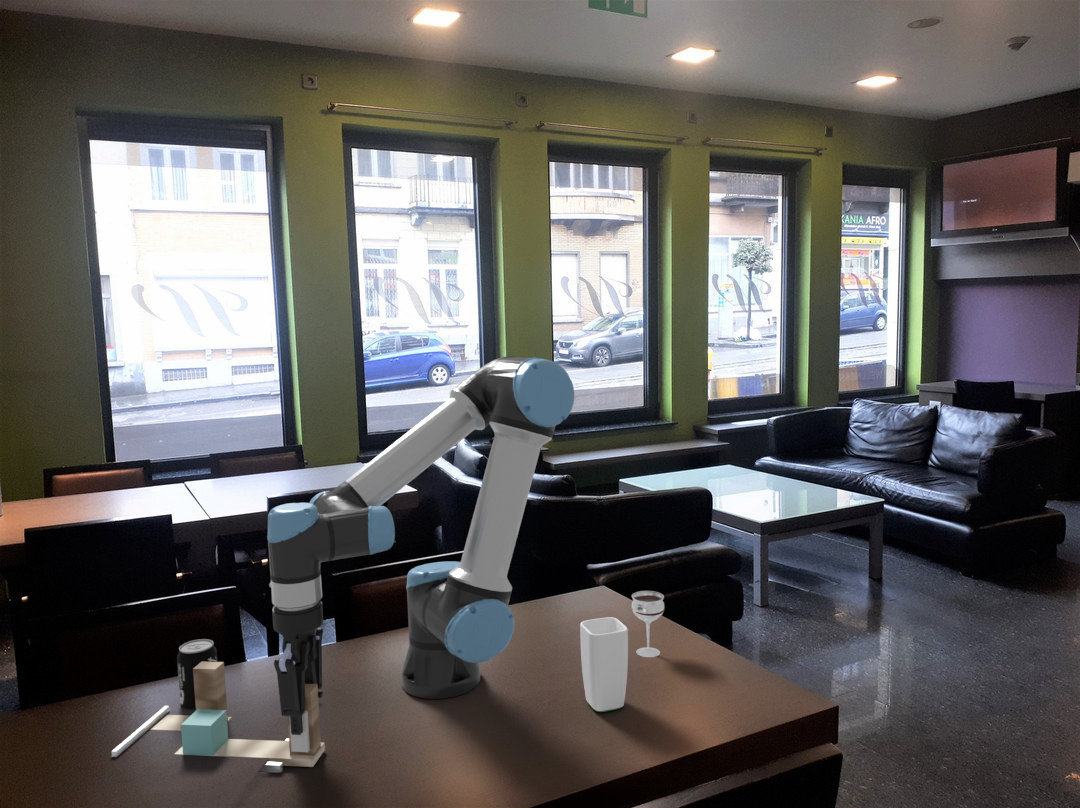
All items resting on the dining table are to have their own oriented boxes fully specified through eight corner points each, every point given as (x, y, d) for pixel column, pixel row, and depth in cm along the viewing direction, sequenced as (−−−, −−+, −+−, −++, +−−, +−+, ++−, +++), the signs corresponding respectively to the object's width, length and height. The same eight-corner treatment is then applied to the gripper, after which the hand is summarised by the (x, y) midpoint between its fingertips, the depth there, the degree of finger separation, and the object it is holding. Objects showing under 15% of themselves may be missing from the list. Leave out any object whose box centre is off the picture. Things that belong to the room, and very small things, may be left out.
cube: (228, 738, 130) (226, 710, 129) (212, 755, 125) (210, 725, 124) (199, 737, 130) (197, 709, 130) (183, 754, 125) (180, 724, 125)
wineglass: (641, 642, 168) (641, 588, 167) (670, 650, 164) (670, 594, 163) (625, 654, 163) (625, 598, 161) (655, 662, 159) (654, 604, 157)
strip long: (324, 749, 128) (321, 681, 127) (313, 766, 123) (308, 695, 122) (191, 744, 131) (186, 677, 129) (174, 761, 126) (169, 691, 125)
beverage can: (205, 718, 140) (201, 654, 138) (173, 715, 141) (168, 651, 140) (227, 701, 146) (223, 639, 145) (196, 698, 147) (191, 637, 146)
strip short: (232, 723, 137) (228, 659, 136) (217, 738, 132) (213, 672, 131) (167, 721, 139) (162, 657, 137) (150, 736, 134) (145, 670, 132)
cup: (631, 711, 139) (631, 630, 138) (593, 718, 137) (592, 636, 135) (615, 692, 146) (614, 615, 144) (578, 699, 144) (577, 621, 142)
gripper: (295, 585, 132) (303, 718, 134) (250, 621, 116) (259, 772, 118) (338, 586, 131) (345, 720, 133) (298, 622, 115) (307, 774, 117)
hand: (305, 744), depth 126 cm, fingers closed on strip long, 3 cm apart
